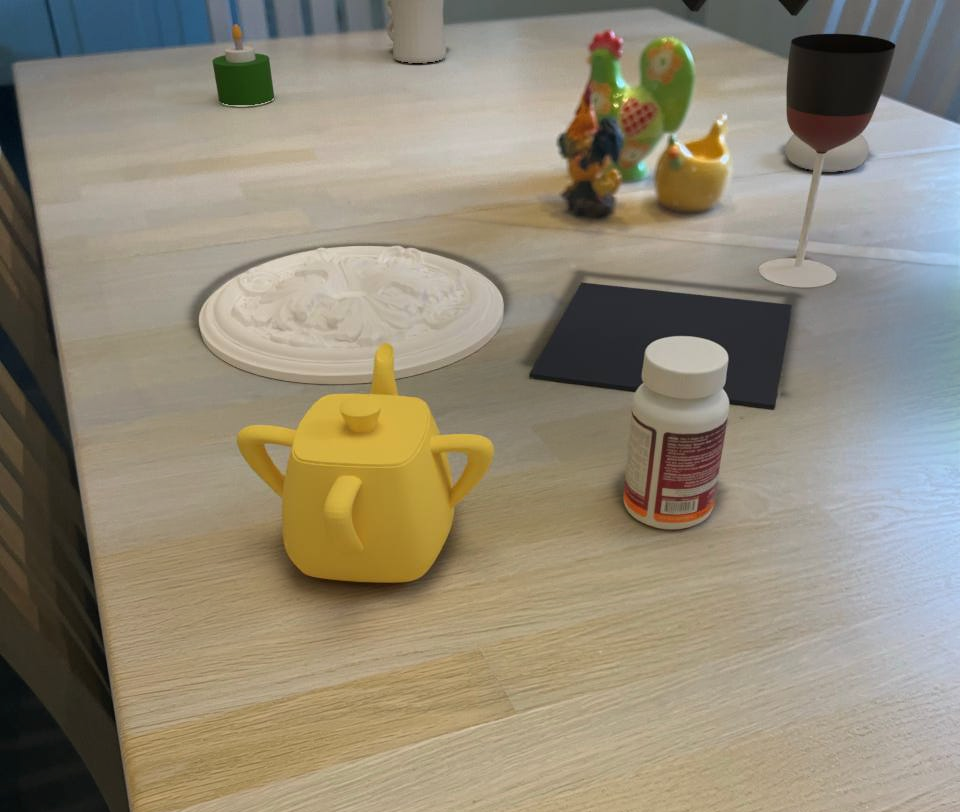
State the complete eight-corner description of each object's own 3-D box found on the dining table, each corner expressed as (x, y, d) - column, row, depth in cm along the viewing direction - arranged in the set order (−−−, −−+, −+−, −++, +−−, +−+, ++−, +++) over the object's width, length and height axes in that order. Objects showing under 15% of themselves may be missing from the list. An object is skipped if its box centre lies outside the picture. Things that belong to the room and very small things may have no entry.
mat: (791, 308, 94) (792, 304, 94) (774, 409, 80) (775, 404, 80) (580, 286, 99) (581, 282, 98) (529, 377, 84) (529, 373, 84)
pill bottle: (727, 501, 70) (755, 347, 63) (686, 543, 66) (711, 385, 59) (648, 473, 73) (666, 323, 65) (605, 513, 69) (618, 358, 62)
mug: (457, 58, 173) (456, -11, 166) (419, 67, 168) (416, -3, 161) (407, 48, 179) (404, -19, 172) (369, 57, 174) (364, -12, 168)
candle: (220, 109, 149) (207, 31, 143) (218, 95, 155) (205, 20, 149) (276, 105, 151) (266, 28, 144) (272, 91, 157) (262, 17, 150)
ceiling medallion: (177, 282, 100) (170, 250, 98) (442, 242, 108) (441, 211, 106) (234, 409, 81) (227, 373, 78) (553, 349, 88) (554, 314, 86)
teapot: (236, 526, 68) (208, 387, 62) (397, 465, 74) (386, 331, 67) (339, 632, 60) (318, 485, 53) (510, 555, 66) (512, 412, 59)
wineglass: (752, 254, 104) (790, 32, 91) (840, 260, 103) (891, 35, 90) (752, 285, 98) (792, 51, 85) (845, 291, 97) (900, 55, 84)
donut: (771, 169, 126) (851, 180, 122) (775, 139, 124) (857, 149, 119) (799, 148, 132) (876, 158, 128) (804, 120, 130) (882, 129, 126)
